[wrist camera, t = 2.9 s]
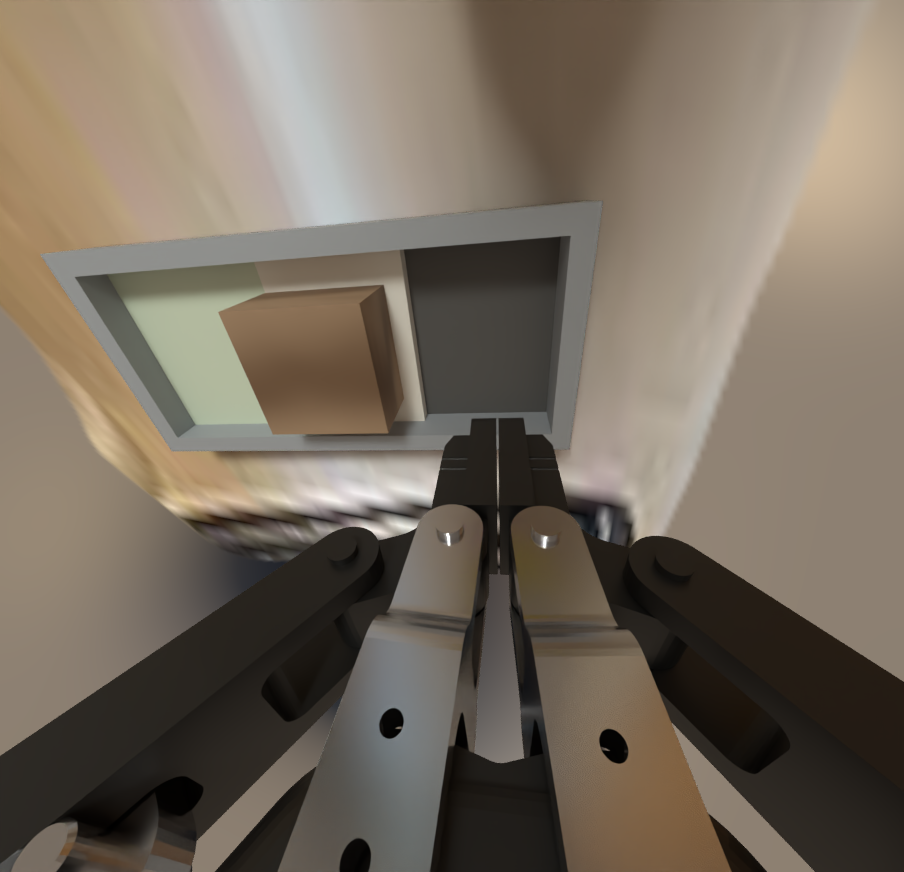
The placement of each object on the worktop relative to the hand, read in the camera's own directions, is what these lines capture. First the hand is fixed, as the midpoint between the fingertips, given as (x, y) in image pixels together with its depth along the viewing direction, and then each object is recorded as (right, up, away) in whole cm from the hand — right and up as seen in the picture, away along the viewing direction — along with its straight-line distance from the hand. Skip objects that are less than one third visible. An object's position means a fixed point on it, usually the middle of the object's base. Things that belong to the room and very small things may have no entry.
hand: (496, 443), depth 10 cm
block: (-7, +5, +8) cm, 12 cm away
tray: (-7, +5, +9) cm, 12 cm away
